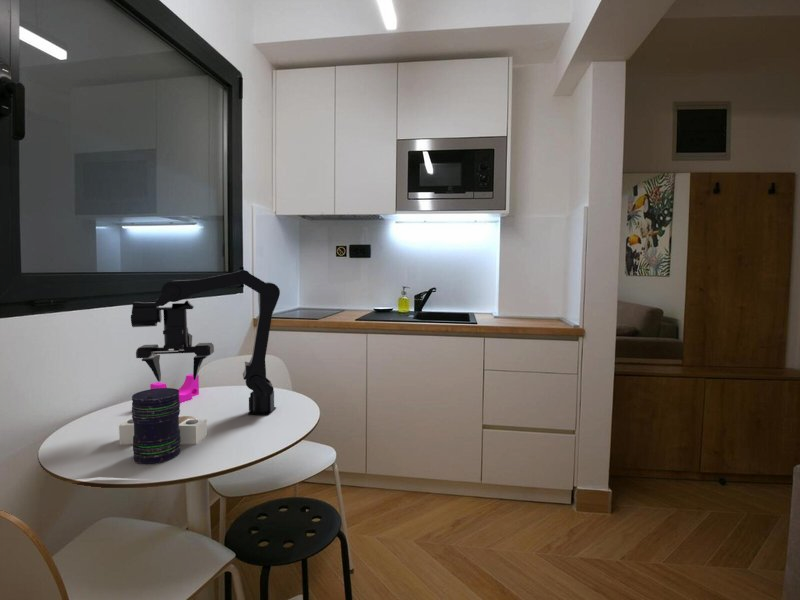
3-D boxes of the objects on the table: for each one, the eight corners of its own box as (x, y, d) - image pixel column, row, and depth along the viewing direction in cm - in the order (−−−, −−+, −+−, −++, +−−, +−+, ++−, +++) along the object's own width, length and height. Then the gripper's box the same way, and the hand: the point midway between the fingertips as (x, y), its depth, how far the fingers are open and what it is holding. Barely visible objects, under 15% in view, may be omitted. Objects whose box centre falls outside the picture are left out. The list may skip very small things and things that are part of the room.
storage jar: (147, 447, 105) (145, 387, 104) (188, 446, 106) (186, 387, 105) (123, 465, 95) (121, 400, 94) (169, 464, 96) (167, 399, 95)
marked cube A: (206, 438, 112) (206, 418, 111) (196, 445, 107) (195, 425, 106) (188, 437, 112) (188, 417, 112) (177, 444, 107) (176, 424, 107)
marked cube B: (148, 435, 113) (147, 416, 112) (142, 443, 108) (141, 423, 107) (126, 437, 111) (126, 417, 111) (119, 445, 106) (119, 424, 106)
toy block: (163, 410, 134) (163, 386, 133) (150, 407, 136) (150, 384, 136) (204, 397, 147) (203, 376, 147) (191, 395, 150) (191, 374, 149)
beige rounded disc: (202, 427, 120) (201, 416, 119) (185, 438, 112) (185, 427, 111) (174, 426, 120) (174, 415, 120) (156, 437, 112) (156, 425, 112)
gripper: (217, 321, 129) (218, 372, 130) (148, 322, 125) (151, 375, 126) (208, 326, 118) (210, 381, 119) (134, 327, 114) (136, 385, 115)
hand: (177, 380), depth 120 cm, fingers open, 9 cm apart
